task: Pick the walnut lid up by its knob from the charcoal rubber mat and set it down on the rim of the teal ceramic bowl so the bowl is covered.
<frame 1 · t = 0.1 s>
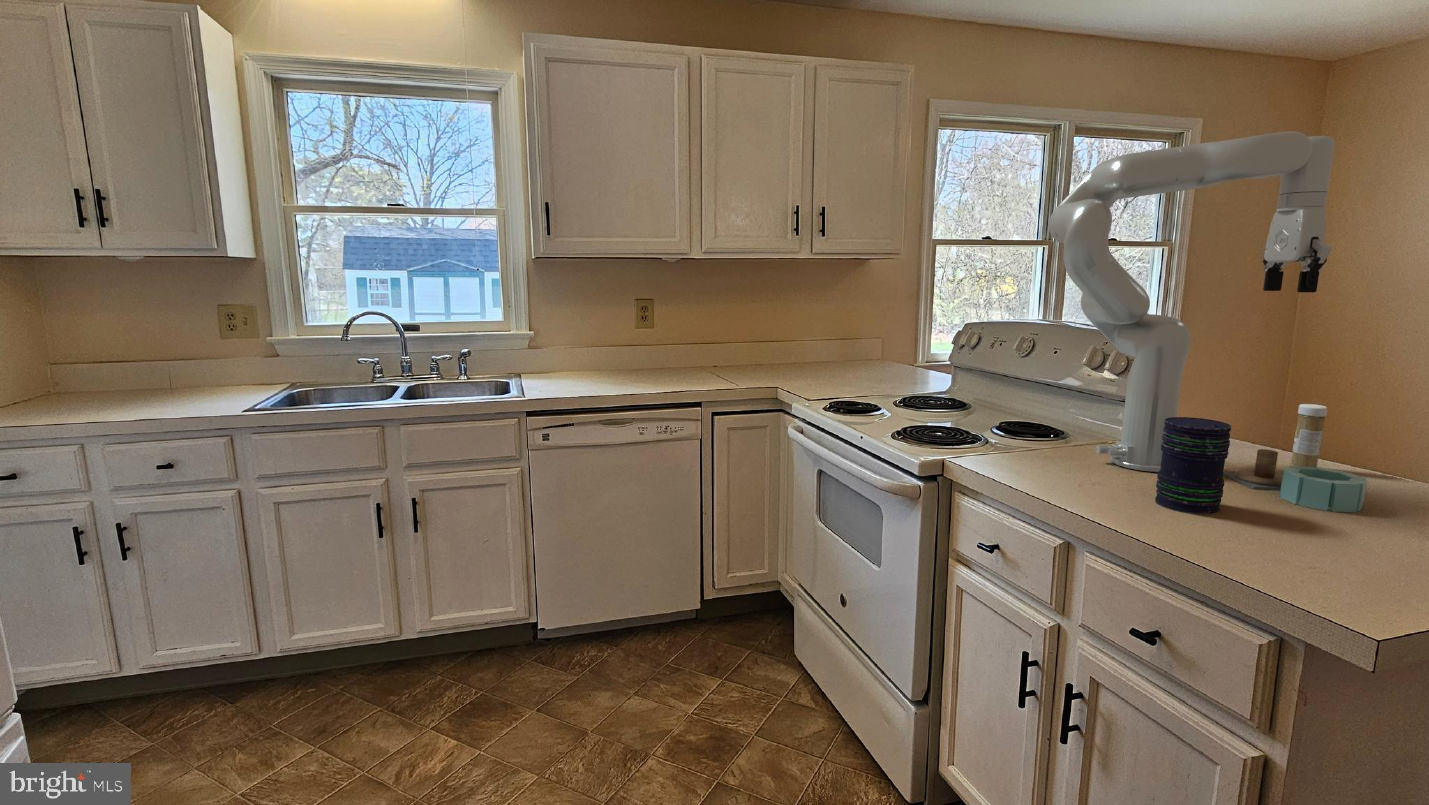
hand: (1288, 291, 144), 37 cm above the table, tool pointing down, fingers open, 9 cm apart
bowl: (1320, 501, 128), on the table
sprinkles bottle: (1303, 469, 150), on the table
storage jar: (1186, 506, 126), on the table
mat: (1263, 481, 140), on the table
lid: (1263, 480, 140), resting on mat
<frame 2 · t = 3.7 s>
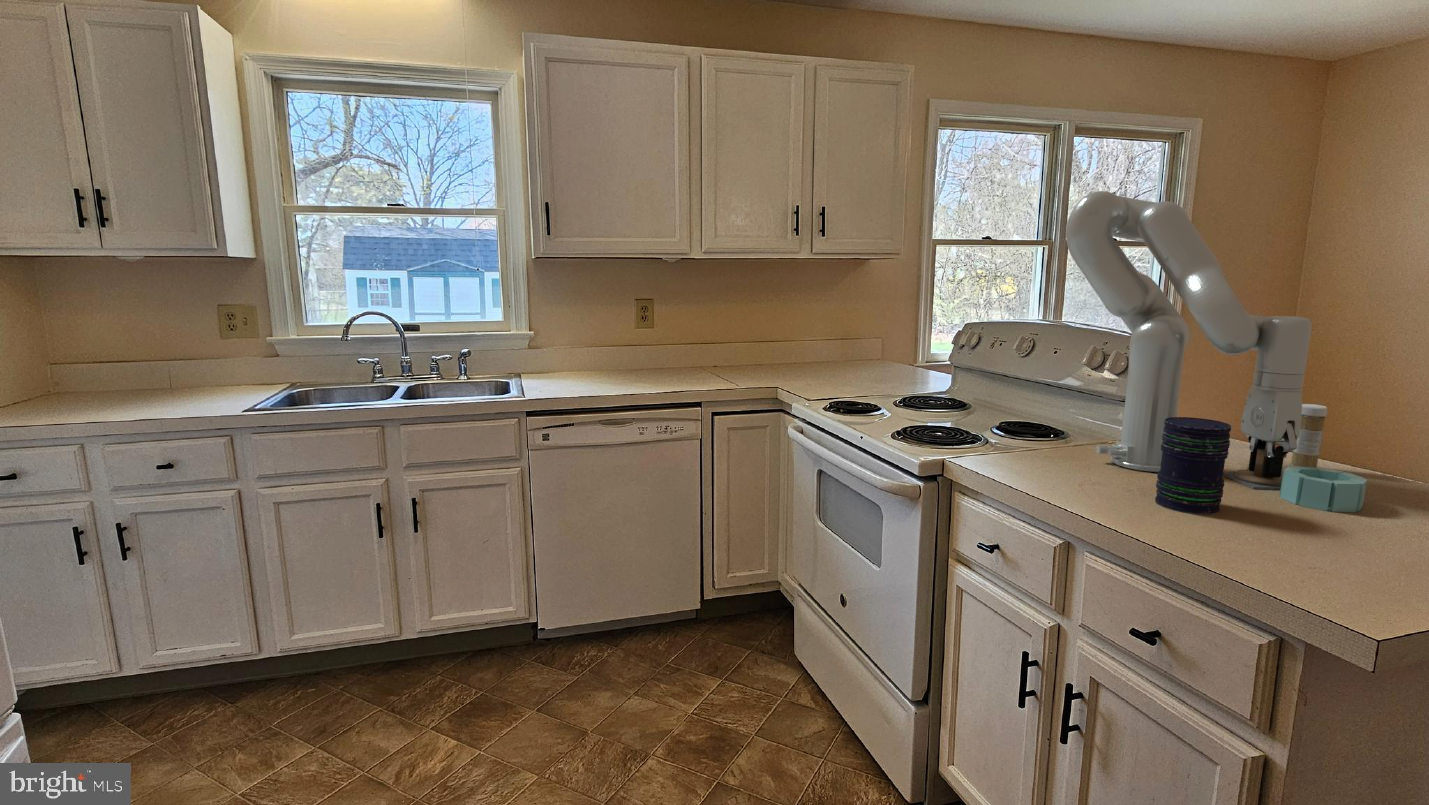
hand: (1264, 473, 140), 2 cm above the table, tool pointing down, fingers closed on lid, 3 cm apart
lid: (1263, 479, 140), resting on mat, touching gripper
everything else where it was.
when the fingers open (8 cm above the table, at t = 7.8 s): lid drops 2 cm, resting on bowl.
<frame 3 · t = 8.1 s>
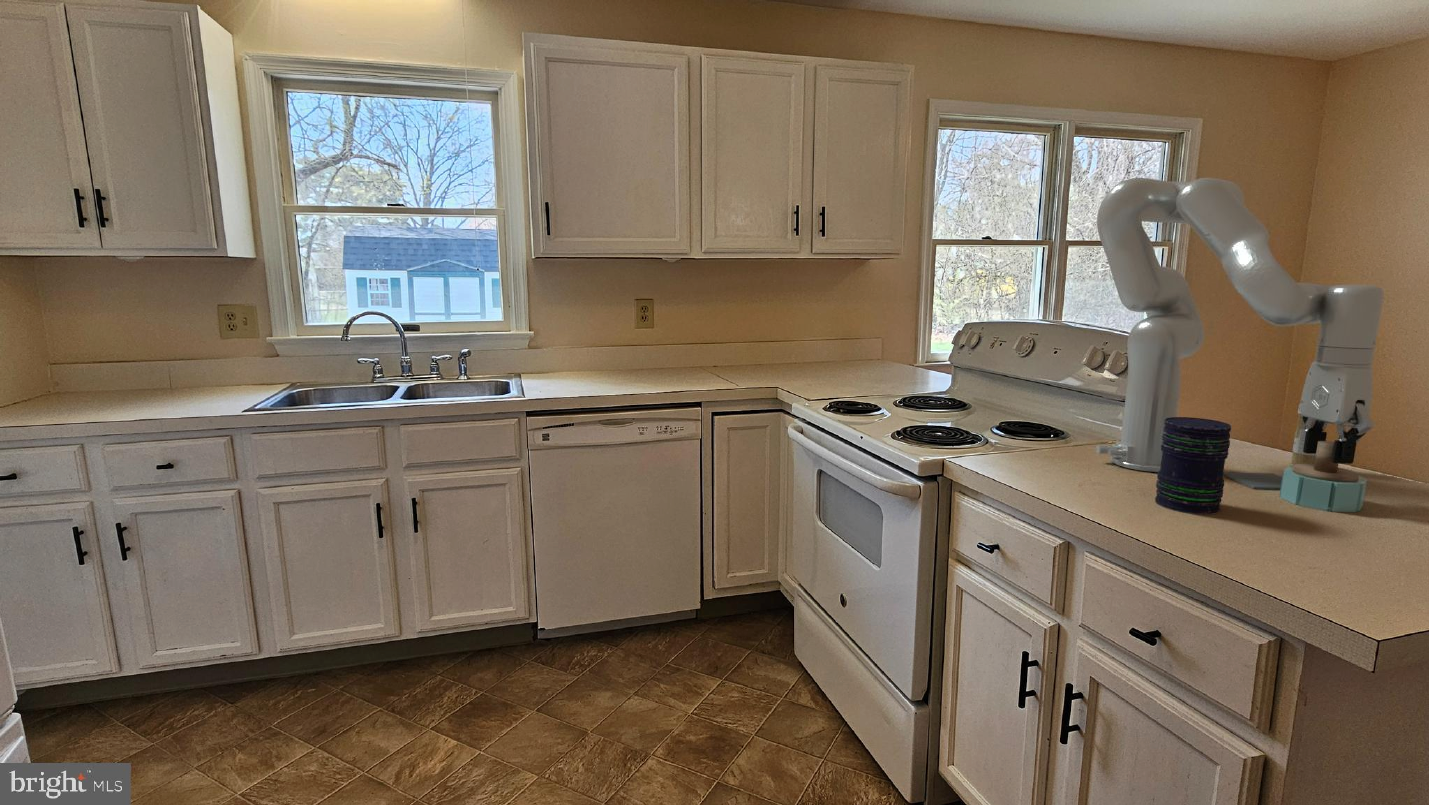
hand: (1327, 457, 127), 8 cm above the table, tool pointing down, fingers open, 6 cm apart
lid: (1324, 474, 127), point 5 cm above the table, touching bowl
everything else where it was.
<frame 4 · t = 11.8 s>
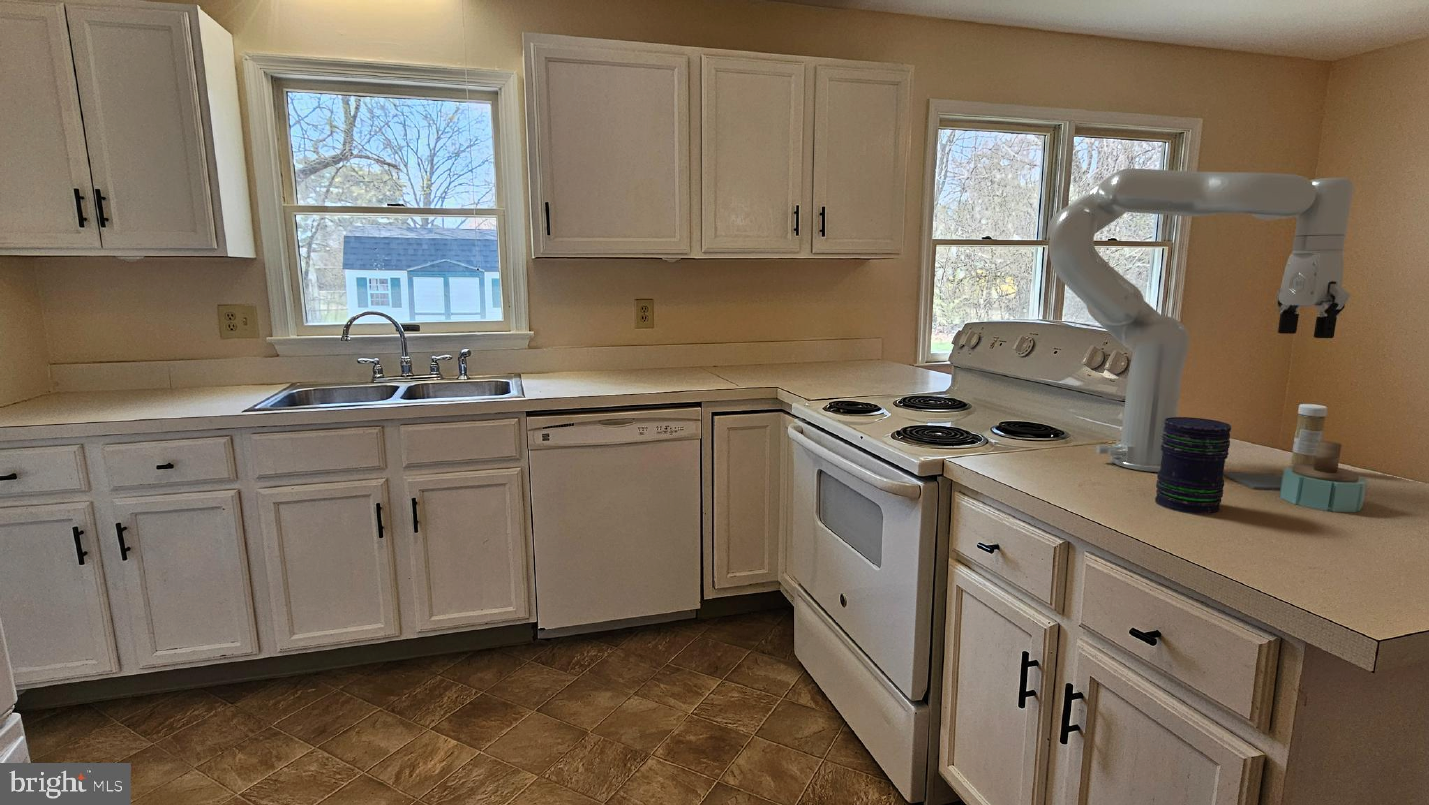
hand: (1304, 335, 139), 28 cm above the table, tool pointing down, fingers open, 9 cm apart
nothing on the table moved.
at the end: lid 0.0 cm off-centre on the bowl, point 5.0 cm above the bowl's base; lid tilted 0°; the gripper is holding nothing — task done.
